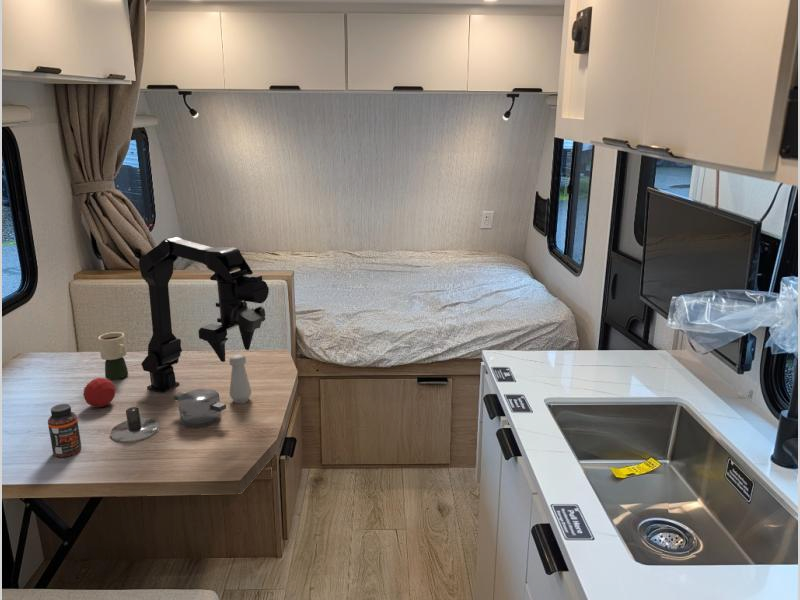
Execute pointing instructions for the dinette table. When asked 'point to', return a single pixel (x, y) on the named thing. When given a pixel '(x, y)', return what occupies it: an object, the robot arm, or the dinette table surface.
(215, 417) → the cooker pot
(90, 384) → the tomato
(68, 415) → the supplement bottle
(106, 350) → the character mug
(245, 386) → the salt shaker
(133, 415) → the cooker lid
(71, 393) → the dinette table surface
